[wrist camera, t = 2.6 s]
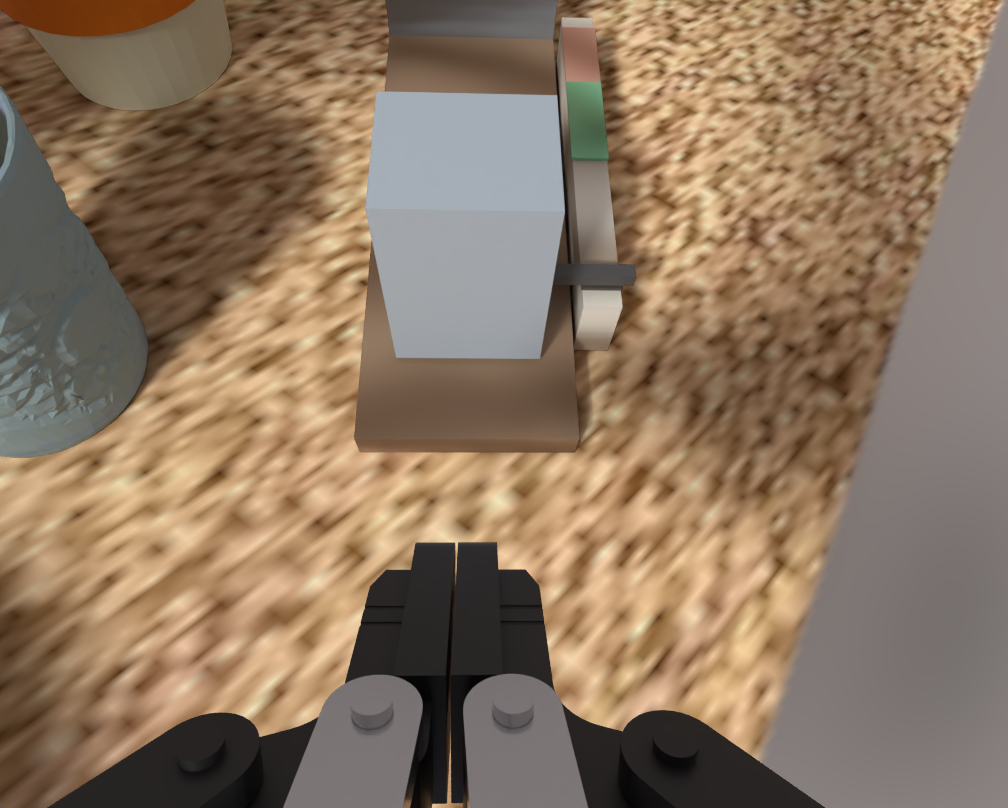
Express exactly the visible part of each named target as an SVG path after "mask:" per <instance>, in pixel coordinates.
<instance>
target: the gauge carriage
mask: <svg viewBox="0 0 1008 808" xmlns="http://www.w3.org/2000/svg"><path fill="white" fill-rule="evenodd" d="M365 209H366V214H367V219H368V224H369V228H370V233H371V238H372V243H373V248H374V253H375V258H376V262H377V267H378V272H379V277H380V282H381V287H382V291H383V296H384V301H385V306H386V311H387V316H388V320H389V325H390V330H391V335H392V340H393V345H394V350H395V354H396V358H491V359H540V355H541V349H542V343H543V338H544V332H545V326H546V320H547V314H548V308H549V302H550V296H551V290H552V285H617V286H633V285H634V282H635V279H636V271H635V265H625V264H556V261H557V255H558V249H559V243H560V237H561V232H562V226H563V220H564V214H565V206H564V191H563V176H562V161H561V146H560V130H559V115H558V100H557V95H520V94H475V93H430V92H385V91H377V93H376V103H375V113H374V124H373V134H372V145H371V155H370V166H369V176H368V187H367V197H366V207H365Z"/></svg>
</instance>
